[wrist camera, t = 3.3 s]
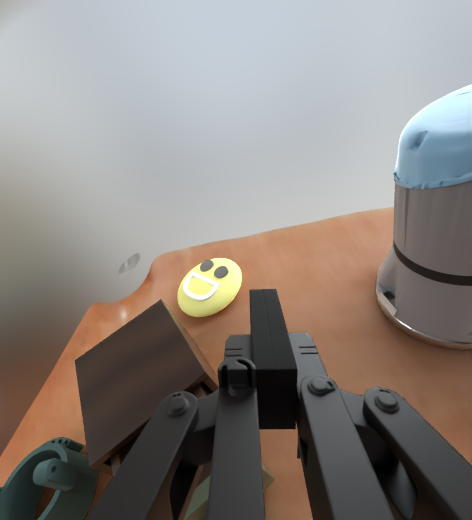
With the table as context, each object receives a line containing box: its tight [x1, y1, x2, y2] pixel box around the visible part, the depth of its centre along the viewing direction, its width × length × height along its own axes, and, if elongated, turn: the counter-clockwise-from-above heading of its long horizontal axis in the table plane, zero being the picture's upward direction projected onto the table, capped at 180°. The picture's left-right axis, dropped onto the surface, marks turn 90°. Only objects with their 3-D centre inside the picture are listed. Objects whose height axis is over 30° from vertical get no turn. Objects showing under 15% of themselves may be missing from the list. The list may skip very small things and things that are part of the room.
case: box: [75, 300, 219, 476], centre depth 34 cm, size 14×13×10 cm
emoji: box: [178, 258, 242, 317], centre depth 48 cm, size 4×12×12 cm
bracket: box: [0, 437, 98, 520], centre depth 30 cm, size 9×9×9 cm
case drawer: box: [110, 381, 274, 520], centre depth 27 cm, size 14×11×8 cm
